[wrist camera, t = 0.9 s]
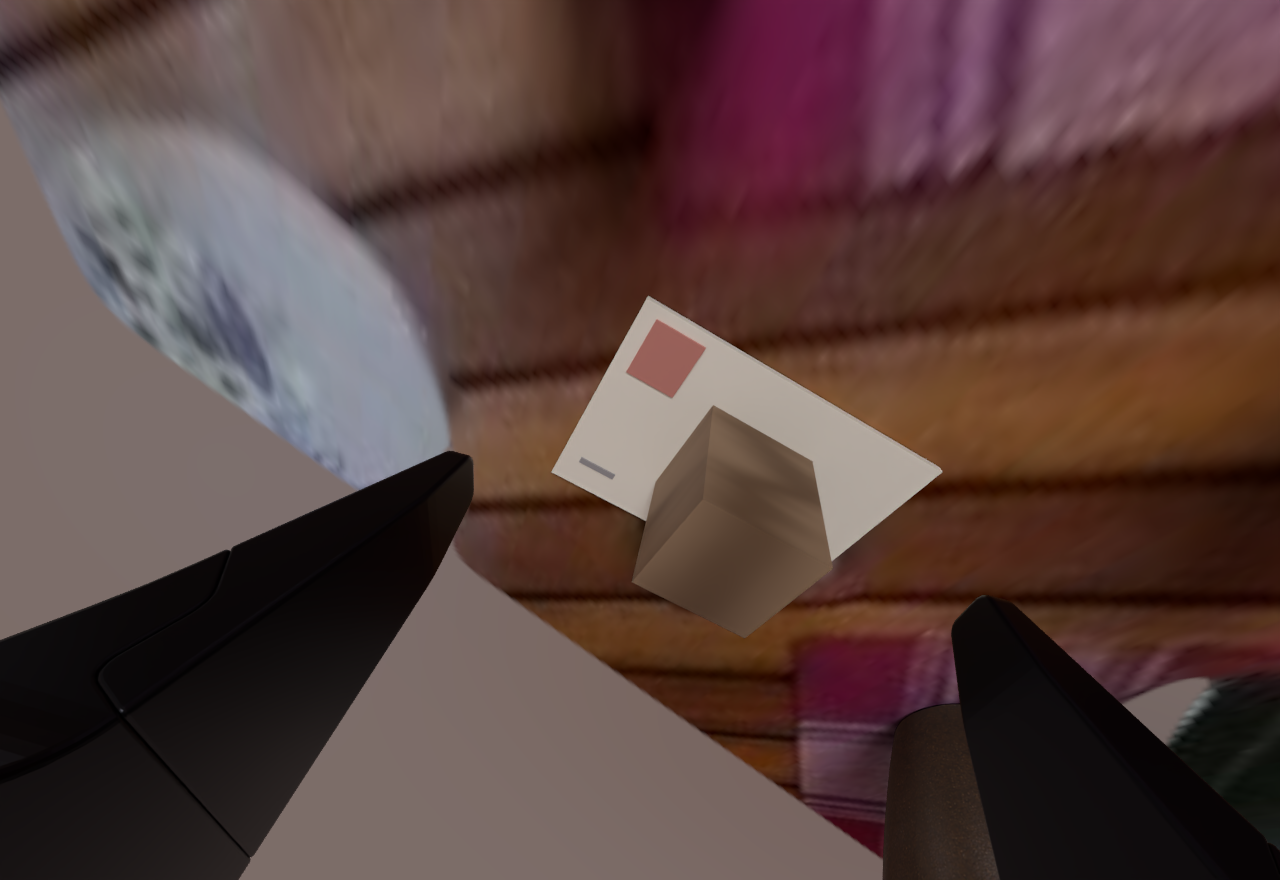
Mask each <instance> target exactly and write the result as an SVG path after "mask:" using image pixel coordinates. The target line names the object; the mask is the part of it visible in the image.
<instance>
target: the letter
mask: <svg viewBox="0 0 1280 880" xmlns="http://www.w3.org/2000/svg"><path fill="white" fill-rule="evenodd" d="M713 405H714V406H716V407H718V408H719V409H721V410H723V411H725V412H726V413H728V414H730V415H732V416H734V417H735V418H737V419H739V420H741V421H742V422H744V423H746V424H748V425H749V426H751V427H753V428H755V429H756V430H758V431H760V432H762V433H764V434H765V435H767V436H769V437H771V438H772V439H774V440H776V441H778V442H779V443H781V444H783V445H785V446H786V447H788V448H790V449H792V450H794V451H795V452H797V453H799V454H801V455H802V456H804V457H806V458H808V459H809V460H811V461H813V467H814V472H815V477H816V482H817V488H818V493H819V498H820V503H821V509H822V514H823V519H824V524H825V530H826V535H827V540H828V545H829V551H830V556H831V561H833V560H834V559H835V558H836V557H838V556H839V555H840V554H841V553H843V552H844V551H845V550H846V549H848V548H849V547H850V546H851V545H853V544H854V543H855V542H856V541H858V540H859V539H860V538H861V537H862V536H864V535H865V534H866V533H867V532H869V531H870V530H871V529H872V528H874V527H875V526H876V525H877V524H879V523H880V522H881V521H882V520H884V519H885V518H886V517H887V516H889V515H890V514H891V513H892V512H894V511H895V510H896V509H897V508H898V507H900V506H901V505H902V504H903V503H905V502H906V501H907V500H908V499H910V498H911V497H912V496H913V495H915V494H916V493H917V492H918V491H920V490H921V489H922V488H923V487H925V486H926V485H927V484H928V483H930V482H931V481H932V480H933V479H934V478H936V477H937V476H938V475H939V474H941V473H942V470H941V468H940V467H938V466H936V465H935V464H933V463H931V462H930V461H928V460H926V459H924V458H923V457H921V456H919V455H918V454H916V453H914V452H913V451H911V450H909V449H908V448H906V447H904V446H902V445H901V444H899V443H897V442H896V441H894V440H892V439H891V438H889V437H887V436H885V435H884V434H882V433H880V432H879V431H877V430H875V429H874V428H872V427H870V426H868V425H867V424H865V423H863V422H862V421H860V420H858V419H857V418H855V417H853V416H852V415H850V414H848V413H846V412H845V411H843V410H841V409H840V408H838V407H836V406H835V405H833V404H831V403H829V402H828V401H826V400H824V399H823V398H821V397H819V396H818V395H816V394H814V393H812V392H811V391H809V390H807V389H806V388H804V387H802V386H801V385H799V384H797V383H796V382H794V381H792V380H790V379H789V378H787V377H785V376H784V375H782V374H780V373H779V372H777V371H775V370H773V369H772V368H770V367H768V366H767V365H765V364H763V363H762V362H760V361H758V360H756V359H755V358H753V357H751V356H750V355H748V354H746V353H745V352H743V351H741V350H739V349H738V348H736V347H734V346H733V345H731V344H729V343H728V342H726V341H724V340H723V339H721V338H719V337H717V336H716V335H714V334H712V333H711V332H709V331H707V330H706V329H704V328H702V327H700V326H699V325H697V324H695V323H694V322H692V321H690V320H689V319H687V318H685V317H683V316H682V315H680V314H678V313H677V312H675V311H673V310H672V309H670V308H668V307H667V306H665V305H663V304H661V303H660V302H658V301H656V300H655V299H653V298H651V297H650V296H648V297H647V299H646V301H645V302H644V304H643V306H642V308H641V310H640V312H639V313H638V315H637V317H636V319H635V321H634V322H633V324H632V326H631V328H630V330H629V332H628V333H627V335H626V337H625V339H624V341H623V343H622V344H621V346H620V348H619V350H618V352H617V353H616V355H615V357H614V359H613V361H612V363H611V364H610V366H609V368H608V370H607V372H606V373H605V375H604V377H603V379H602V381H601V383H600V384H599V386H598V388H597V390H596V392H595V393H594V395H593V397H592V399H591V401H590V403H589V404H588V406H587V408H586V410H585V412H584V414H583V415H582V417H581V419H580V421H579V423H578V424H577V426H576V428H575V430H574V432H573V434H572V435H571V437H570V439H569V441H568V443H567V444H566V446H565V448H564V450H563V452H562V454H561V455H560V457H559V459H558V461H557V463H556V464H555V466H554V468H553V470H552V473H554V474H556V475H558V476H560V477H562V478H564V479H566V480H568V481H569V482H571V483H573V484H575V485H577V486H579V487H581V488H583V489H585V490H587V491H589V492H591V493H593V494H595V495H596V496H598V497H600V498H602V499H604V500H606V501H608V502H610V503H612V504H614V505H616V506H618V507H620V508H622V509H623V510H625V511H627V512H629V513H631V514H633V515H635V516H637V517H639V518H641V519H643V520H645V521H646V520H647V516H648V512H649V507H650V503H651V499H652V495H653V491H654V487H655V482H656V481H657V479H658V478H659V477H660V475H661V474H662V473H663V471H664V470H665V469H666V467H667V466H668V465H669V463H670V462H671V461H672V459H673V458H674V457H675V455H676V454H677V453H678V451H679V450H680V449H681V447H682V446H683V445H684V443H685V442H686V441H687V439H688V438H689V437H690V435H691V434H692V433H693V431H694V430H695V429H696V427H697V426H698V424H699V423H700V422H701V420H702V419H703V418H704V416H705V415H706V414H707V412H708V411H709V410H710V408H711V407H712V406H713Z"/></svg>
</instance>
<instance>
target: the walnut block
mask: <svg viewBox="0 0 1280 880" xmlns="http://www.w3.org/2000/svg"><path fill="white" fill-rule="evenodd" d="M832 569H833V566H832V561H831V556H830V551H829V545H828V540H827V535H826V530H825V524H824V519H823V514H822V509H821V503H820V498H819V493H818V488H817V482H816V477H815V472H814V467H813V461H811V460H809V459H808V458H806V457H804V456H802V455H801V454H799V453H797V452H795V451H794V450H792V449H790V448H788V447H786V446H785V445H783V444H781V443H779V442H778V441H776V440H774V439H772V438H771V437H769V436H767V435H765V434H764V433H762V432H760V431H758V430H756V429H755V428H753V427H751V426H749V425H748V424H746V423H744V422H742V421H741V420H739V419H737V418H735V417H734V416H732V415H730V414H728V413H726V412H725V411H723V410H721V409H719V408H718V407H716V406H714V405H713V406H712V407H711V408H710V410H709V411H708V412H707V414H706V415H705V416H704V418H703V419H702V420H701V422H700V423H699V424H698V426H697V427H696V429H695V430H694V431H693V433H692V434H691V435H690V437H689V438H688V439H687V441H686V442H685V443H684V445H683V446H682V447H681V449H680V450H679V451H678V453H677V454H676V455H675V457H674V458H673V459H672V461H671V462H670V463H669V465H668V466H667V467H666V469H665V470H664V471H663V473H662V474H661V475H660V477H659V478H658V479H657V481H656V482H655V487H654V491H653V495H652V499H651V503H650V507H649V512H648V516H647V520H646V524H645V528H644V532H643V537H642V541H641V545H640V549H639V553H638V557H637V562H636V566H635V570H634V574H633V578H632V583H634V584H636V585H638V586H640V587H642V588H644V589H646V590H648V591H650V592H652V593H654V594H656V595H658V596H660V597H662V598H664V599H667V600H669V601H671V602H673V603H675V604H677V605H679V606H681V607H683V608H685V609H687V610H689V611H691V612H693V613H695V614H697V615H699V616H701V617H703V618H705V619H707V620H709V621H711V622H713V623H715V624H717V625H719V626H721V627H723V628H725V629H727V630H729V631H731V632H733V633H735V634H737V635H739V636H741V637H743V638H746V637H747V636H748V635H750V634H751V633H752V632H753V631H755V630H756V629H757V628H758V627H760V626H761V625H762V624H764V623H765V622H766V621H767V620H769V619H770V618H771V617H772V616H774V615H775V614H776V613H777V612H779V611H780V610H781V609H782V608H784V607H785V606H786V605H788V604H789V603H790V602H791V601H793V600H794V599H795V598H796V597H798V596H799V595H800V594H801V593H803V592H804V591H805V590H806V589H808V588H809V587H810V586H812V585H813V584H814V583H815V582H817V581H818V580H819V579H820V578H822V577H823V576H824V575H825V574H827V573H828V572H829V571H830V570H832Z"/></svg>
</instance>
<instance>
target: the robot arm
mask: <svg viewBox="0 0 1280 880" xmlns="http://www.w3.org/2000/svg"><path fill="white" fill-rule="evenodd" d="M473 492H474V473H473V460H472V458H471V457H470V456H469V455H465V454H461V453H458V452H454V451H447V452H444V453H442V454H440V455H437V456H435V457H433V458H431V459H428V460H426V461H424V462H422V463H419V464H417V465H415V466H413V467H410V468H408V469H406V470H404V471H401V472H399V473H397V474H395V475H393V476H390V477H388V478H386V479H384V480H381V481H379V482H377V483H375V484H372V485H370V486H368V487H366V488H363V489H361V490H359V491H357V492H354V493H352V494H350V495H348V496H345V497H343V498H341V499H339V500H336V501H334V502H332V503H330V504H328V505H325V506H323V507H321V508H319V509H316V510H314V511H312V512H310V513H307V514H305V515H303V516H301V517H298V518H296V519H294V520H292V521H289V522H287V523H285V524H283V525H281V526H278V527H276V528H274V529H272V530H269V531H267V532H265V533H262V534H260V535H258V536H256V537H254V538H251V539H249V540H247V541H245V542H242V543H240V544H238V545H236V546H234V547H233V548H232V549H231V551H229V550H224V551H222V552H219V553H217V554H215V555H213V556H211V557H208V558H206V559H204V560H202V561H199V562H197V563H195V564H192V565H190V566H188V567H185V568H183V569H181V570H178V571H176V572H174V573H171V574H169V575H167V576H164V577H162V578H160V579H157V580H155V581H153V582H150V583H148V584H145V585H143V586H140V587H138V588H135V589H133V590H130V591H128V592H125V593H123V594H120V595H117V596H115V597H112V598H110V599H107V600H105V601H102V602H100V603H97V604H95V605H92V606H89V607H87V608H84V609H81V610H79V611H76V612H73V613H71V614H68V615H66V616H63V617H60V618H57V619H55V620H52V621H50V622H47V623H44V624H42V625H39V626H36V627H34V628H31V629H29V630H26V631H23V632H20V633H18V634H15V635H13V636H10V637H7V638H5V639H2V640H0V880H239V878H240V877H241V875H242V873H243V872H244V870H245V869H246V867H247V866H248V864H249V863H250V857H252V856H253V855H254V854H255V853H256V851H257V850H258V848H259V847H260V845H261V844H262V842H263V840H264V838H265V837H266V836H267V834H268V833H269V831H270V829H271V828H272V826H273V825H274V823H275V822H276V820H277V819H278V817H279V815H280V814H281V813H282V811H283V809H284V808H285V806H286V805H287V803H288V802H289V800H290V799H291V797H292V796H293V794H294V792H295V791H296V789H297V788H298V786H299V785H300V783H301V782H302V780H303V778H304V777H305V775H306V774H307V772H308V771H309V769H310V768H311V766H312V765H313V763H314V761H315V760H316V758H317V757H318V755H319V754H320V752H321V751H322V749H323V747H324V746H325V745H326V743H327V741H328V740H329V738H330V737H331V735H332V734H333V732H334V731H335V729H336V728H337V726H338V724H339V723H340V721H341V720H342V718H343V717H344V715H345V714H346V712H347V710H348V709H349V707H350V706H351V704H352V703H353V701H354V700H355V698H356V696H357V695H358V694H359V692H360V690H361V689H362V687H363V686H364V684H365V682H366V681H367V680H368V678H369V677H370V675H371V673H372V672H373V670H374V669H375V667H376V666H377V664H378V662H379V661H380V659H381V658H382V656H383V655H384V653H385V652H386V650H387V649H388V647H389V646H390V644H391V642H392V641H393V639H394V638H395V636H396V635H397V633H398V632H399V630H400V629H401V627H402V625H403V624H404V622H405V621H406V619H407V618H408V616H409V615H410V613H411V612H412V610H413V608H414V607H415V605H416V604H417V602H418V601H419V599H420V598H421V596H422V595H423V593H424V591H425V590H426V588H427V587H428V585H429V583H430V582H431V580H432V579H433V577H434V575H435V573H436V571H437V569H438V567H439V566H440V564H441V562H442V560H443V558H444V556H445V554H446V552H447V550H448V548H449V546H450V544H451V542H452V539H453V537H454V535H455V533H456V531H457V529H458V527H459V525H460V523H461V521H462V519H463V517H464V515H465V513H466V511H467V509H468V507H469V505H470V503H471V500H472V497H473ZM951 637H952V644H953V652H954V660H955V668H956V676H957V683H958V691H959V699H960V707H961V713H962V720H963V725H964V730H965V735H966V740H967V744H968V748H969V753H970V757H971V761H972V765H973V770H974V774H975V778H976V782H977V787H978V791H979V795H980V799H981V804H982V808H983V812H984V816H985V821H986V825H987V829H988V833H989V838H990V842H991V846H992V850H993V855H994V859H995V863H996V867H997V872H998V876H999V880H1280V850H1278V849H1277V848H1276V847H1275V846H1274V845H1273V844H1270V843H1267V840H1266V838H1265V837H1264V836H1263V835H1262V834H1261V833H1260V832H1259V831H1258V830H1257V829H1256V828H1255V827H1253V826H1252V825H1251V824H1250V823H1249V822H1248V821H1247V820H1246V819H1245V818H1244V817H1243V816H1242V815H1241V814H1239V813H1238V812H1237V811H1236V810H1235V809H1234V808H1233V807H1232V806H1231V805H1230V804H1229V803H1228V802H1226V801H1225V800H1224V799H1223V798H1222V797H1221V796H1220V795H1219V794H1218V793H1217V792H1216V791H1215V790H1214V789H1212V788H1211V787H1210V786H1209V785H1208V784H1207V783H1206V782H1205V781H1204V780H1203V779H1202V778H1201V777H1200V776H1198V775H1197V774H1196V773H1195V772H1194V771H1193V770H1192V769H1191V768H1190V767H1189V766H1188V765H1187V764H1185V763H1184V762H1183V761H1182V760H1181V759H1180V758H1179V757H1178V756H1177V755H1176V754H1175V753H1174V752H1173V751H1171V750H1170V749H1169V748H1168V747H1167V746H1166V745H1165V744H1164V743H1163V742H1162V741H1161V740H1160V739H1159V738H1157V737H1156V736H1155V735H1154V734H1153V733H1152V732H1151V731H1150V730H1149V729H1148V728H1147V727H1146V726H1144V725H1143V724H1142V723H1141V722H1140V721H1139V720H1138V719H1137V718H1136V717H1135V716H1133V714H1132V713H1130V712H1129V711H1128V710H1127V709H1126V708H1125V707H1124V706H1123V705H1122V704H1121V703H1120V702H1119V701H1118V700H1116V699H1115V698H1114V697H1113V696H1112V695H1111V694H1110V693H1109V692H1108V691H1107V690H1106V689H1105V688H1104V687H1102V686H1101V685H1100V684H1099V683H1098V682H1097V681H1096V680H1095V679H1094V678H1093V677H1092V676H1091V675H1090V674H1088V673H1087V672H1086V671H1085V670H1084V669H1083V668H1082V667H1081V666H1080V665H1079V664H1078V663H1077V662H1076V661H1074V660H1073V659H1072V658H1071V657H1070V656H1069V655H1068V654H1067V653H1066V652H1065V651H1064V650H1063V649H1062V648H1060V647H1059V646H1058V645H1057V644H1056V643H1055V642H1054V641H1053V640H1052V639H1051V638H1050V637H1049V636H1047V635H1046V634H1045V633H1044V632H1043V631H1042V630H1041V629H1040V628H1039V627H1038V626H1037V625H1036V624H1035V623H1033V622H1032V621H1031V620H1030V619H1029V618H1028V617H1027V616H1026V615H1025V614H1024V613H1023V612H1022V611H1021V610H1019V609H1018V608H1017V607H1016V606H1015V605H1014V604H1013V603H1011V602H1009V601H1007V600H1004V599H1000V598H997V597H993V596H989V595H982V596H980V597H978V598H977V599H976V600H975V601H974V602H973V603H972V604H971V605H970V606H969V607H968V608H967V609H966V610H965V611H964V612H963V613H962V614H961V615H960V616H959V617H958V618H957V619H956V620H955V622H954V624H953V627H952V632H951Z"/></svg>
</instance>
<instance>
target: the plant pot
mask: <svg viewBox="0 0 1280 880" xmlns="http://www.w3.org/2000/svg"><path fill="white" fill-rule="evenodd" d="M883 880H999V876H998V872H997V867H996V863H995V859H994V855H993V850H992V846H991V842H990V838H989V833H988V829H987V825H986V821H985V816H984V812H983V808H982V804H981V799H980V795H979V791H978V787H977V782H976V778H975V774H974V770H973V765H972V761H971V757H970V753H969V748H968V744H967V740H966V735H965V730H964V725H963V720H962V713H961V707H960V704H948V705H940V706H934V707H930V708H927V709H923V710H920V711H918V712H916V713H913V714H911V715H910V716H908V717H907V718H905V719H904V720H903V721H902V722H901V723H900V724H899V725H898V727H897V729H896V731H895V736H894V742H893V748H892V755H891V762H890V771H889V781H888V791H887V802H886V814H885V830H884V850H883Z"/></svg>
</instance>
